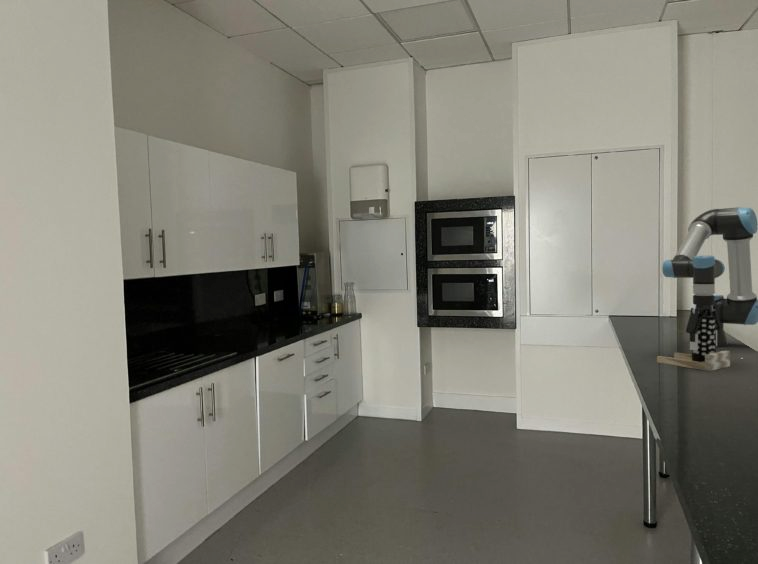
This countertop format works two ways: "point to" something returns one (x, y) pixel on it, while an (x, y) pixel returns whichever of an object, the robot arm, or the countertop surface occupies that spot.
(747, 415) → the countertop surface
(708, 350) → the white-spotted black cylinder
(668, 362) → the guide channel
